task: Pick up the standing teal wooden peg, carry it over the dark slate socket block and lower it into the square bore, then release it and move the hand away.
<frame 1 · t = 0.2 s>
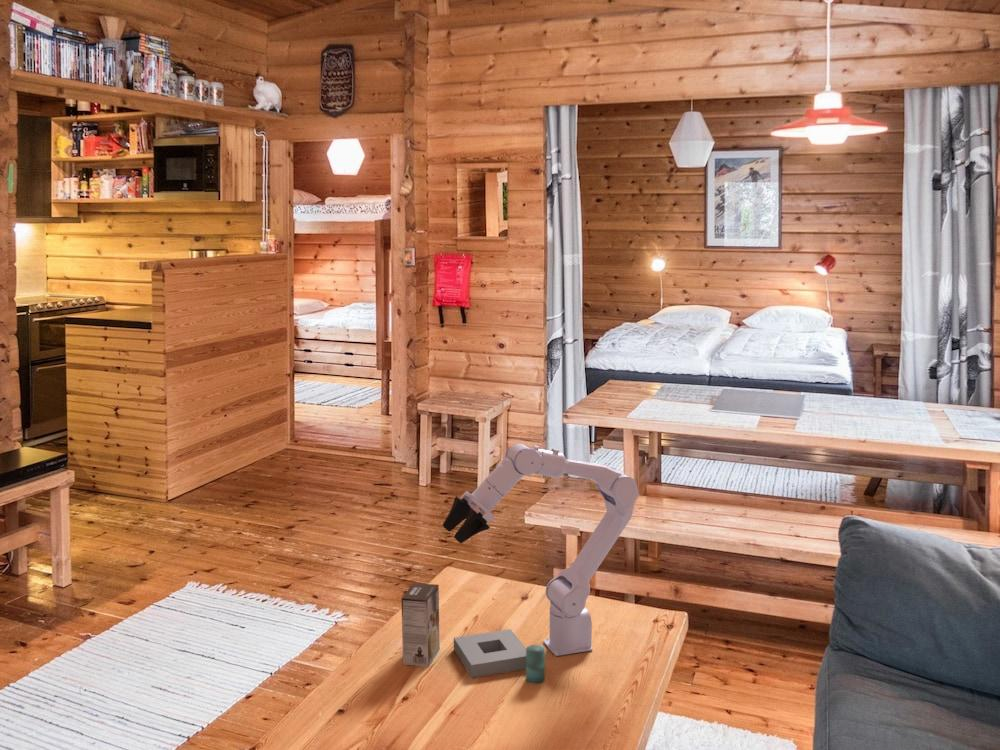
hand: (451, 534, 199), 31 cm above the table, tool tilted 45°, fingers open, 7 cm apart
coffee box: (421, 657, 209), on the table
socket: (491, 658, 208), on the table
peg: (535, 679, 199), on the table
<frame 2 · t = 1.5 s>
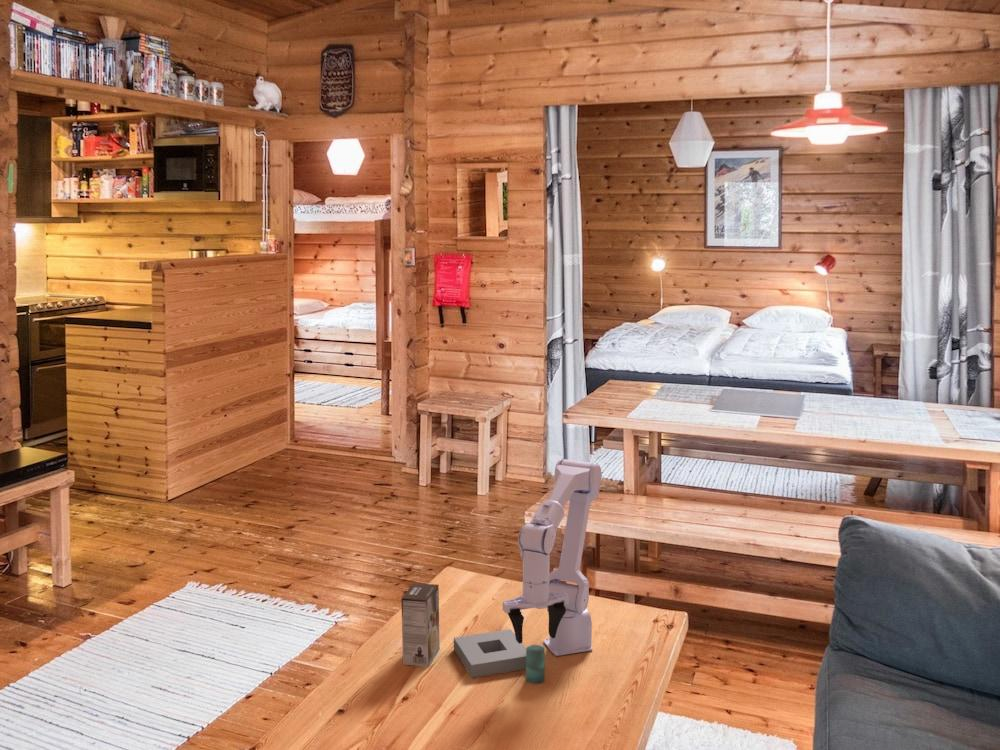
hand: (535, 638, 197), 9 cm above the table, tool pointing down, fingers open, 7 cm apart
nothing on the table moved.
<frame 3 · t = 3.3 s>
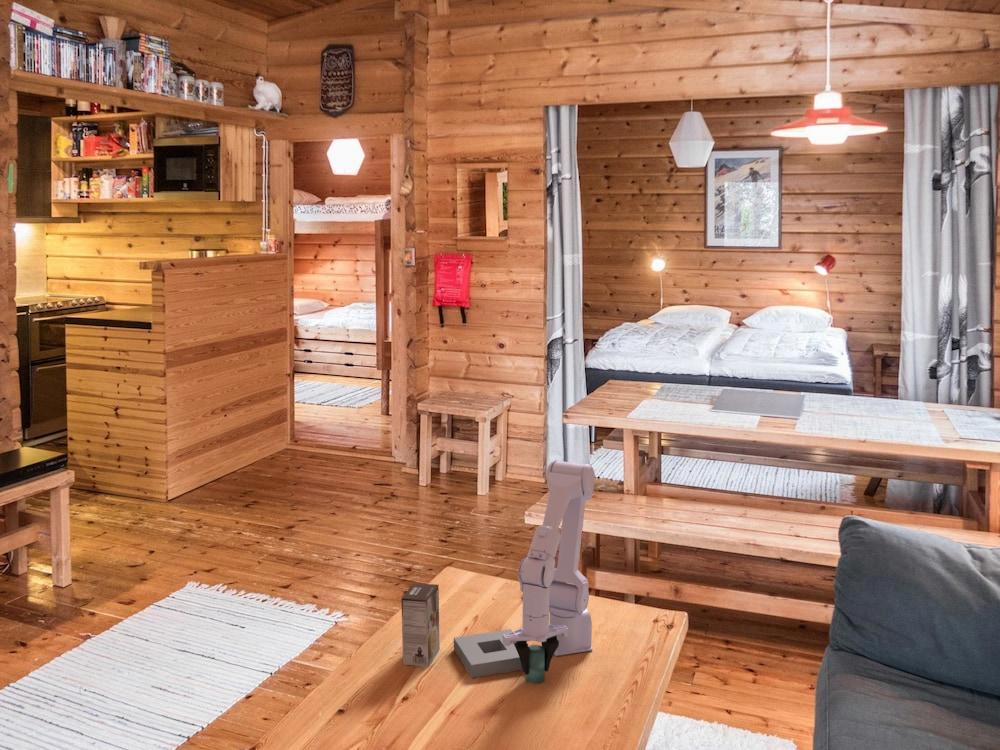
hand: (535, 670, 199), 2 cm above the table, tool pointing down, fingers closed on peg, 4 cm apart
peg: (535, 679, 199), on the table, touching gripper
everything else where it was.
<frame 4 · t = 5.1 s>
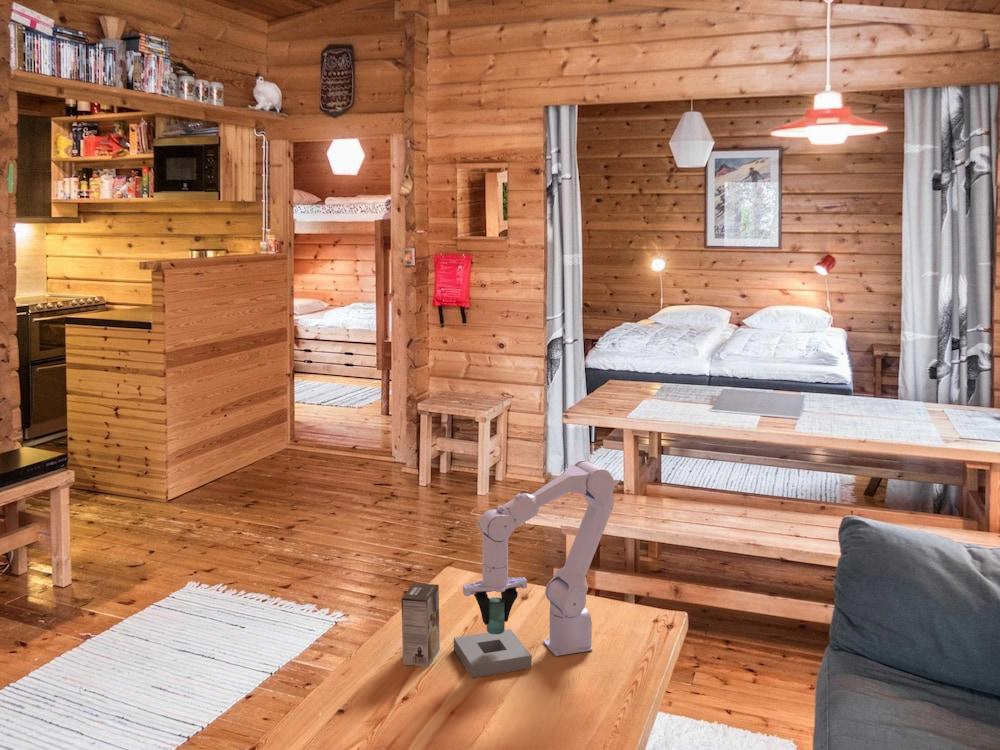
hand: (495, 621, 206), 9 cm above the table, tool pointing down, fingers closed on peg, 4 cm apart
peg: (495, 630, 206), point 7 cm above the table, touching gripper
everything else where it was.
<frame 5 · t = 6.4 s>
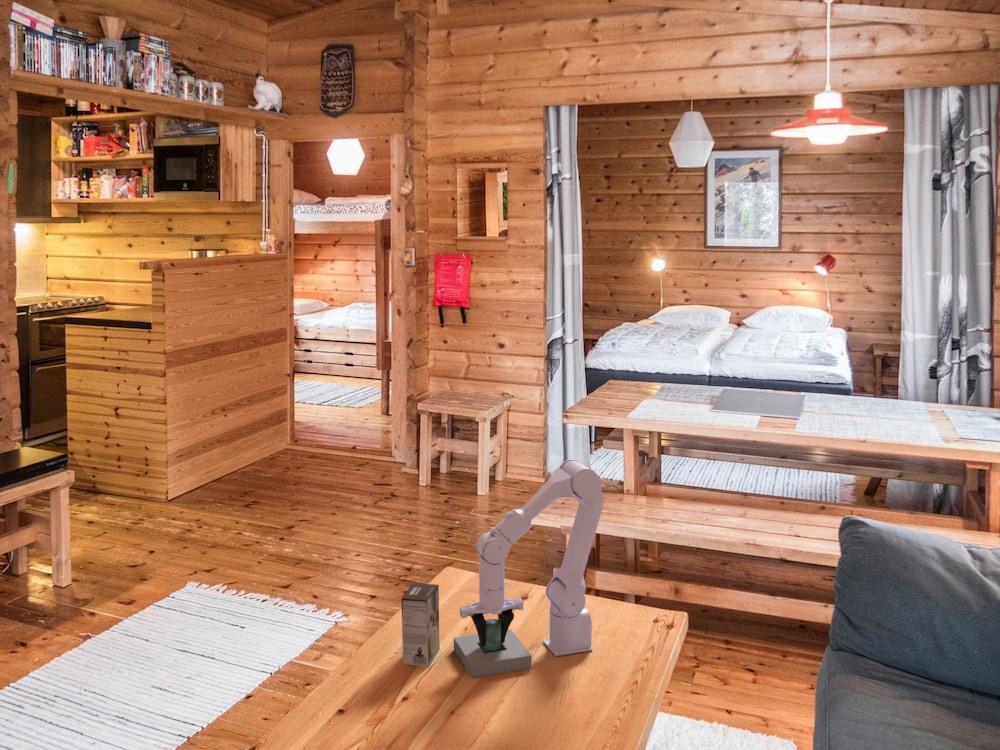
hand: (491, 642, 208), 4 cm above the table, tool pointing down, fingers closed on peg, 4 cm apart
peg: (492, 651, 208), point 2 cm above the table, touching gripper
everything else where it was.
when the fingers open (4 cm above the table, at t = 7.1 s): peg drops 2 cm, resting in socket.
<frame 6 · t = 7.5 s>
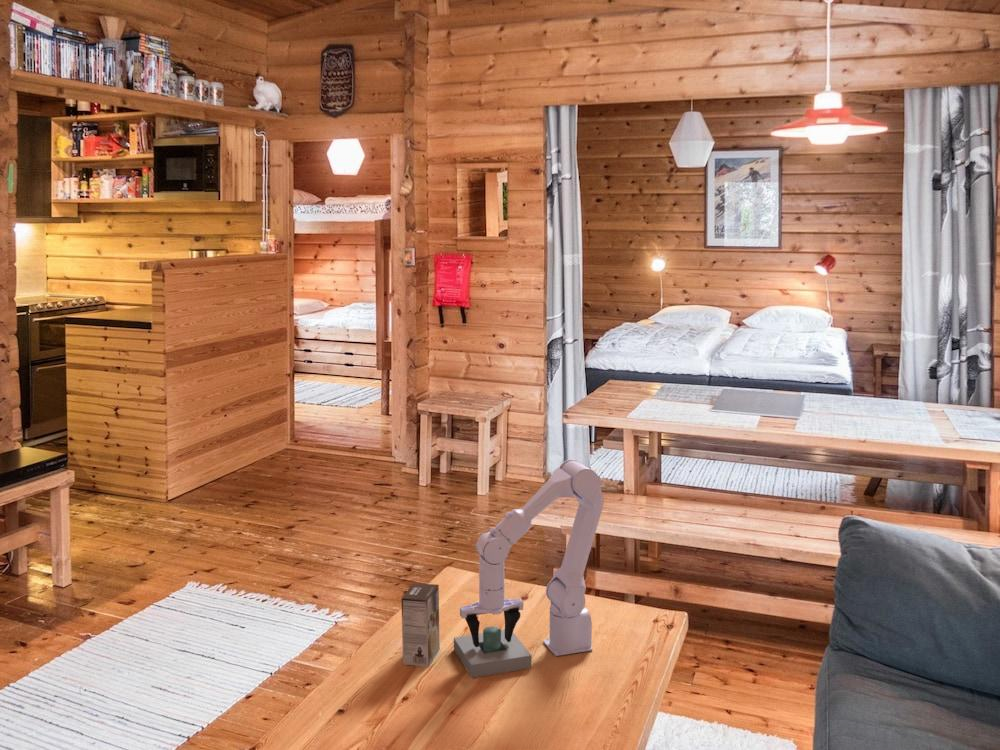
hand: (491, 642, 208), 4 cm above the table, tool pointing down, fingers open, 7 cm apart
peg: (492, 659, 208), resting in socket
everything else where it was.
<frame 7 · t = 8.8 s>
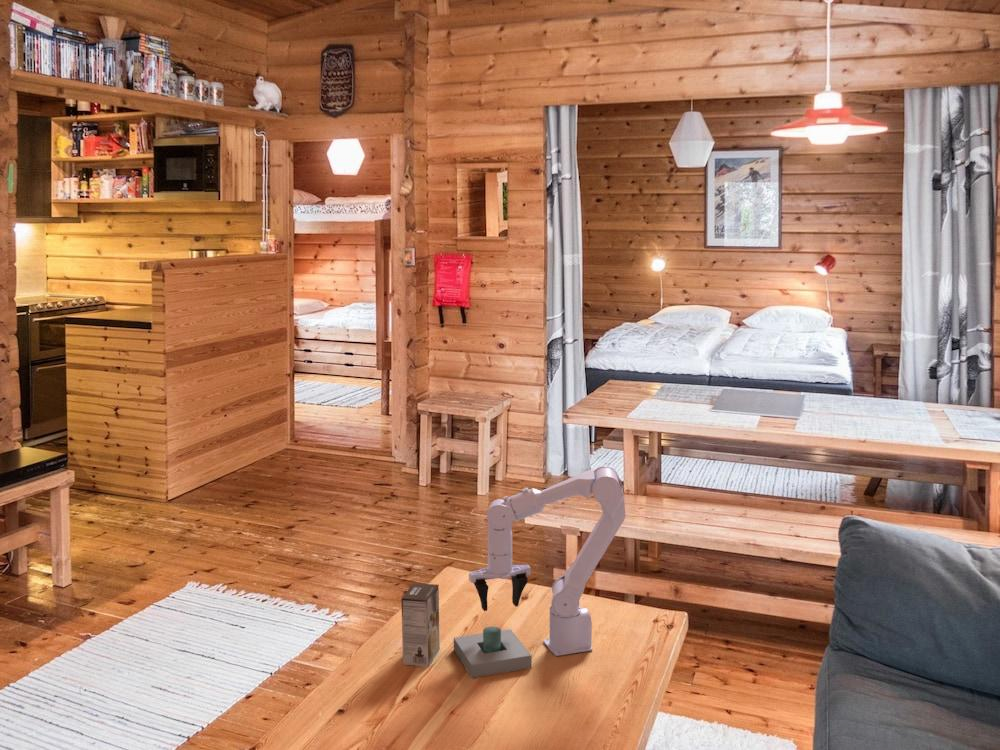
hand: (499, 607, 214), 9 cm above the table, tool pointing down, fingers open, 7 cm apart
nothing on the table moved.
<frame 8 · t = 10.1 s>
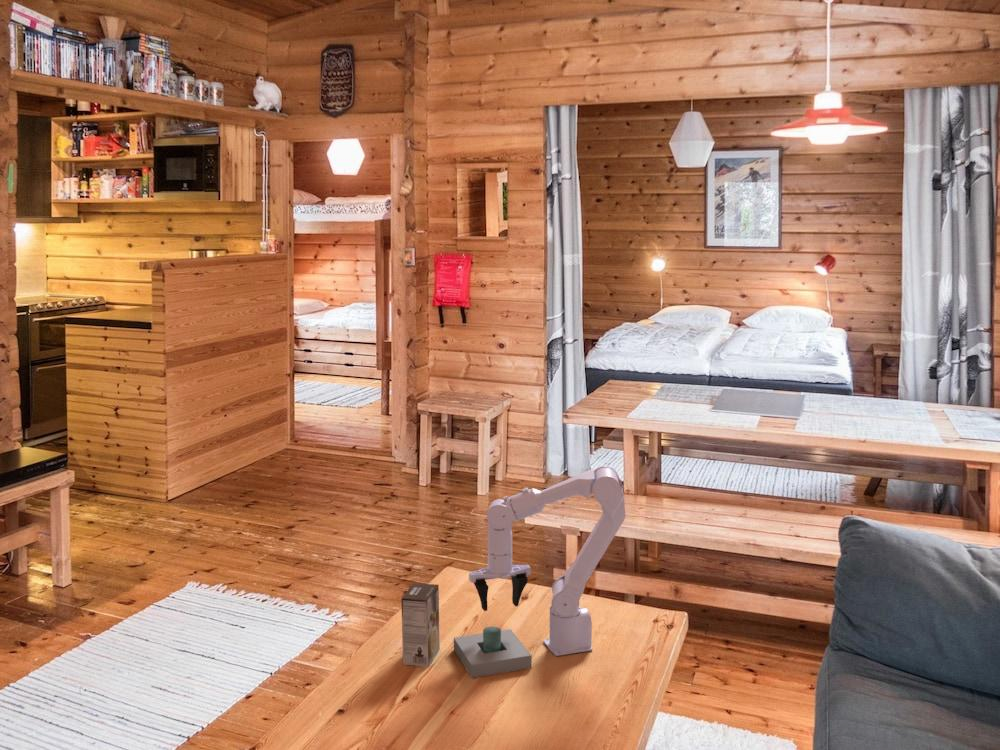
hand: (499, 607, 214), 9 cm above the table, tool pointing down, fingers open, 7 cm apart
nothing on the table moved.
at the end: peg 0.2 cm off-centre on the socket, point 0.0 cm above the socket's base; peg tilted 0°; the gripper is holding nothing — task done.
